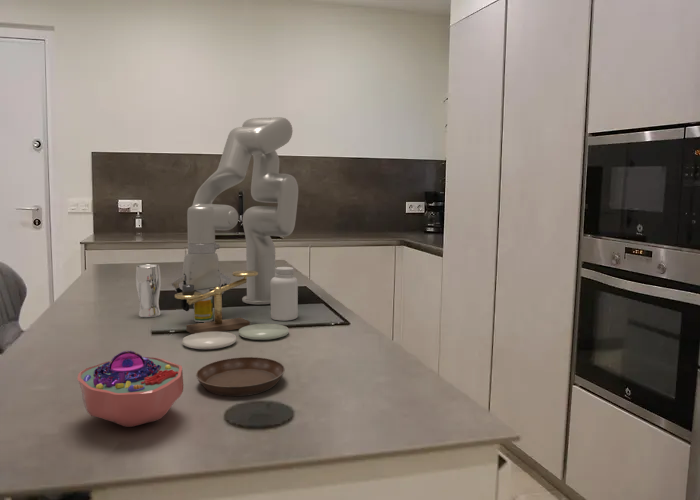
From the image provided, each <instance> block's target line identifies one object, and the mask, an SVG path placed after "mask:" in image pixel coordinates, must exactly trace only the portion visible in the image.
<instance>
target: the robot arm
mask: <svg viewBox="0 0 700 500" xmlns="http://www.w3.org/2000/svg"><path fill="white" fill-rule="evenodd" d="M293 131H294V130H293V126H292V122H290V120H289V119H287V118H286V117H280V116H279V117H278V116H277V117H274V116H272V117H253V118H248V119H247V120H245V121H244V122H243V123H242V125H241V126H238V127H234V128H233V129H231V130H230V131H229V133H228V135H227V139H226V142H225V144H224V148H223V152H222V154H221V157H220V160H219V161H220V162H219V164H218V166H217V169H216V170H215V171H214V172H213V173H212V174H211V175H209V177H208V178H207V179H206V180H205V181H204V182H203V183H202V184H201V185H200V187H199V188H198V189H197V191H196V193H195V194H194V195H195V196H194V198H193V202H192V205H191V206H190V207H188V208H187V211H186V213H187V215H186V217H187V218H186V219H187V221H186V223H187V253H185V254H184V258H183V263H182V265H183V267H182V275H181V276H179V277H178V278H176V279H174V280H172V281H171V283H170V284H171V286H172V287H173V289H174V291H175V292H176V294H177V293H182V288H180V285H179V284H182V285H188V284H191V285H194V291H196V290H199V289H210V290H211V289H214V288H215V287H217V286H219V287H223V286H225V285H228V284H230V282H231V280H232V278H231V277H230V276H228V275H226V274H224V273H221V268H220V261H219V257H218V253H216V252H217V251H216V250H219V249H220V244H217V243H216V231H229V230H232V229H233V228H235V227H236V226H237V224H238V222H239V218H240V217H239V213H238V210H237V209H236V208H235V207H233V206H231V205H228V204H218V203H217V204H214V203H213V202H214V201H215V199H216V198H217V196H219V195H220V194H222V192H225V191H226V190H229V189H230V188H232V187H234V186H237V185H238V184H240V183H241V182H243V181H244V180H245V178H246V175H247V172H248V169H249V165H250V162H251V158H252V157H253V158H252V159H253V165H252V174H251V176H252V177H251V185H250V195H251V198H252V199H253V200H254V201H256V202H259V203H267V204H268V203H270V204H274V203H275V204H277V206H270V205H269V206H268V205H267V206H265V205H264V206H263V205H256V206H255V205H254V206H251V207H249V208H247V209H246V210H245V211H244V212H243V214H242V227H243V231H244V237H245V245H246V247H245V250H246V251H245V252H246V254H245V255H246V256H245V257H246V262H245V263H246V271H257V272H258V275H256V276H250V277H247V280H246V281H247V282H246V295H245V296H243V297H242V298H241V299H242V303H244V304H248V305H260V306H261V305H271V279H272V278H273V277H276V275H275V274H276V273H275V268H276V247H275V243H274V241H273V239H272V237H288V236H290V235H291V234H293V231H294V229H295V226H296V220H297V210H298V200H299V185H298V182H297V179H296V177H294V175H291V174H288V173H279V172H280V157H279V155H278V152H277V150H278V149H280V148H282V147H284V146H286V145H287V144H288V143H289V142H290V141H291V138H292V137H293ZM221 279H222V280H223V283H222V284H221V281H222V280H221ZM224 293H225V291H224V292H222V295H223V294H224ZM180 300H181V301H180V302H181V303H180V305H181V308H182V309H183V311H186V312H189V311H190V305H189V304H188V303H187V299H180ZM223 302H224V301H223V299H222V304H223Z"/></svg>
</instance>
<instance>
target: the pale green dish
mask: <svg viewBox="0 0 700 500" xmlns="http://www.w3.org/2000/svg"><path fill="white" fill-rule="evenodd" d="M289 332H290V330H289V327H287V326H286V325H282V324H277V323H257V324H250V325H248V326H245V327H242V328H240V329H238V336H240V337H242V338H245V339H249V340H253V341H254V340H255V341H270V340H276V339H279V338H283V337H285V336H287V335H288V334H289Z"/></svg>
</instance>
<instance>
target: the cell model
mask: <svg viewBox="0 0 700 500" xmlns="http://www.w3.org/2000/svg"><path fill="white" fill-rule="evenodd" d="M183 374H184V373H183V366H182V365H180V364H177V363H174V362H171V361H169V360H166V359H164V358H160V357H153V356H152V357H149V356H142V355H141V354H140V353H138V352H136V351H133V350H122V351H120V352H119V353H117V354H116V355H114V356H113V357H112V358H111V359H110V360H109V361H105V362H101V363H99V364H97V365H93V366H90V367H87V368H84V369H83V370H81V371H80V372H78V374H77V382H78V385H79V388H80V391H81V397H82V403H83V406H84V408H85V410H86V412H87V414H89V415H90V416H91V417H95V418H99V419H103V420H105V421H109V422H111V423H114V424H117V425H119V426H122V427H128V428H131V427H136V426H141V425H145V424H149V423H153V422H156V421H159V420H160V419H162V418H163V417H164V416H165V415H166V414H167V413H168V412H169V410H170V409H171V408H172V406H173V405H174V404H175V403H176V402H177V400H179V398H180V397H181V396H182V394H183V392H184V375H183Z"/></svg>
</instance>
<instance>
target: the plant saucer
mask: <svg viewBox="0 0 700 500" xmlns="http://www.w3.org/2000/svg"><path fill="white" fill-rule="evenodd" d="M285 369H286V368H285V366H284V365H283V364H282V362H280V361H277V360H274V359H269V358H264V357H259V356H257V357H256V356H255V357H253V356H249V357H247V356H245V357H243V356H241V357H233V358H225V359H221V360H216V361H214V362H209V364H206V365H204V366H202V367H201V368H199V369H198V370H197V371H196V373H195V377H196V379H197V381H198V382H199V383H200V384H201V385H202V386H203V388H205V390H207V392H208V391H209V392H210V393H213V394H215V395H219V396H225V397H244V396H251V395H252V396H253V395H257V394H260V393H263V392H265V391H268V390H270V389H272V388H273V387H275V386H276V384H278V382H280V379H281V378H282V377H283V375H284V373H285Z"/></svg>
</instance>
